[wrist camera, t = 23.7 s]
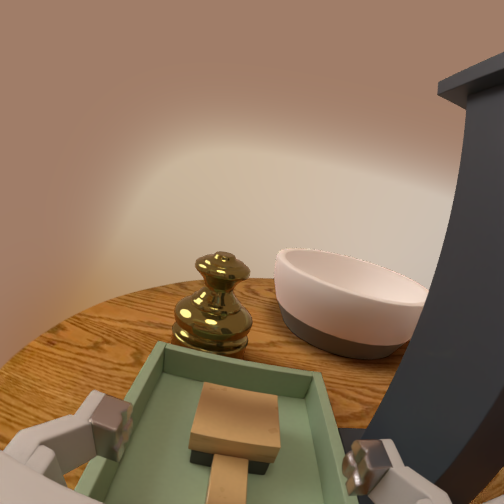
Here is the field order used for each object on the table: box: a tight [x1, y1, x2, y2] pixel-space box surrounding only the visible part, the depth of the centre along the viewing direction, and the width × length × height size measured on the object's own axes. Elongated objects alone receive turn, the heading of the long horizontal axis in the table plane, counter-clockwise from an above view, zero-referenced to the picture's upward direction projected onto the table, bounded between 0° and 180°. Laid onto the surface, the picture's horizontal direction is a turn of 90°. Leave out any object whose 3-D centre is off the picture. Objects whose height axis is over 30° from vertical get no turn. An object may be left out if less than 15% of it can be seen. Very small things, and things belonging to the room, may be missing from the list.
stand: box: [338, 52, 504, 504], centre depth 12 cm, size 8×12×26 cm, turn 179°
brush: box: [188, 382, 281, 504], centre depth 12 cm, size 16×5×3 cm, turn 178°
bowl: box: [274, 248, 429, 359], centre depth 41 cm, size 22×22×8 cm
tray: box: [74, 341, 359, 504], centre depth 14 cm, size 14×22×3 cm, turn 179°
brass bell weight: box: [171, 252, 252, 360], centre depth 29 cm, size 7×7×10 cm
